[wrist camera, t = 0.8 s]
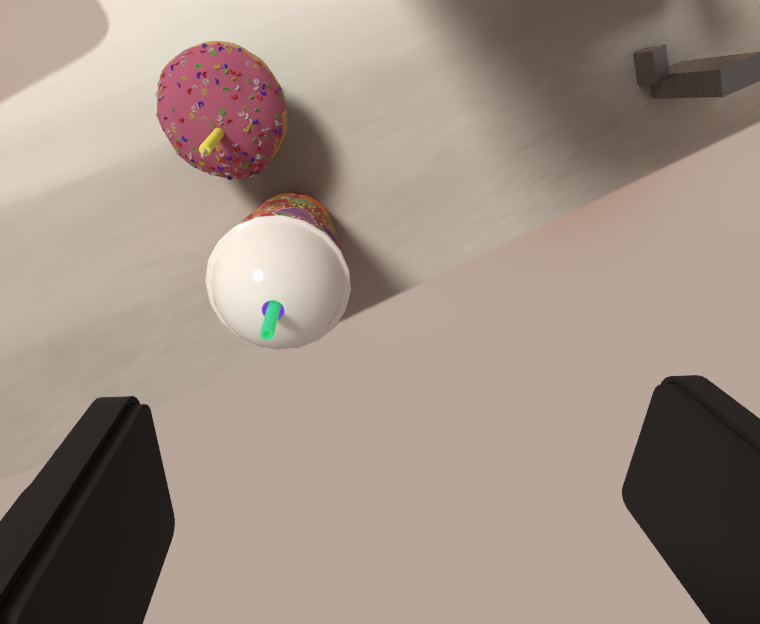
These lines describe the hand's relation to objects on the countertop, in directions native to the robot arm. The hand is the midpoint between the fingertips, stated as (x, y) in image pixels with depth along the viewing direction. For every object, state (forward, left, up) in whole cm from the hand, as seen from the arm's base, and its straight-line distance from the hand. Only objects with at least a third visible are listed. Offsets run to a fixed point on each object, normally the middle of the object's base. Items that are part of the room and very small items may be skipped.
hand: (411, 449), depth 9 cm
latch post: (+2, +27, -33) cm, 43 cm away
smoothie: (+2, -6, -33) cm, 34 cm away
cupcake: (-8, -6, -33) cm, 35 cm away
